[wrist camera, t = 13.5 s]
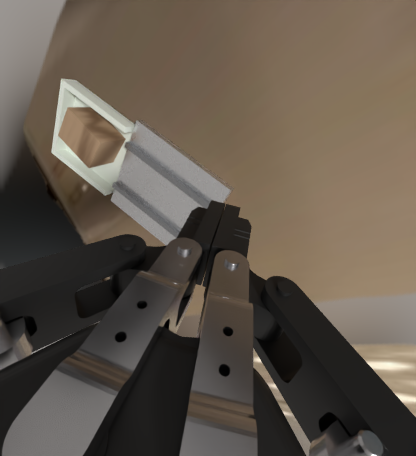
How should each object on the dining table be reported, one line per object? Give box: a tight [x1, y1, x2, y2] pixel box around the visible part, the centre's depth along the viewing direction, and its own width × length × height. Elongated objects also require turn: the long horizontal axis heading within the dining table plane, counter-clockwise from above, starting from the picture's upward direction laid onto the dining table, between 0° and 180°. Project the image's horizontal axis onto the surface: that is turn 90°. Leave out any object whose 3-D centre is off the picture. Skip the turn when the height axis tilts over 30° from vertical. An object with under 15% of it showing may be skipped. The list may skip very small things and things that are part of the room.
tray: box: [51, 79, 135, 196], centre depth 49 cm, size 15×15×3 cm
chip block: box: [58, 107, 126, 168], centre depth 46 cm, size 6×6×8 cm
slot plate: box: [111, 120, 234, 245], centre depth 47 cm, size 20×18×2 cm
